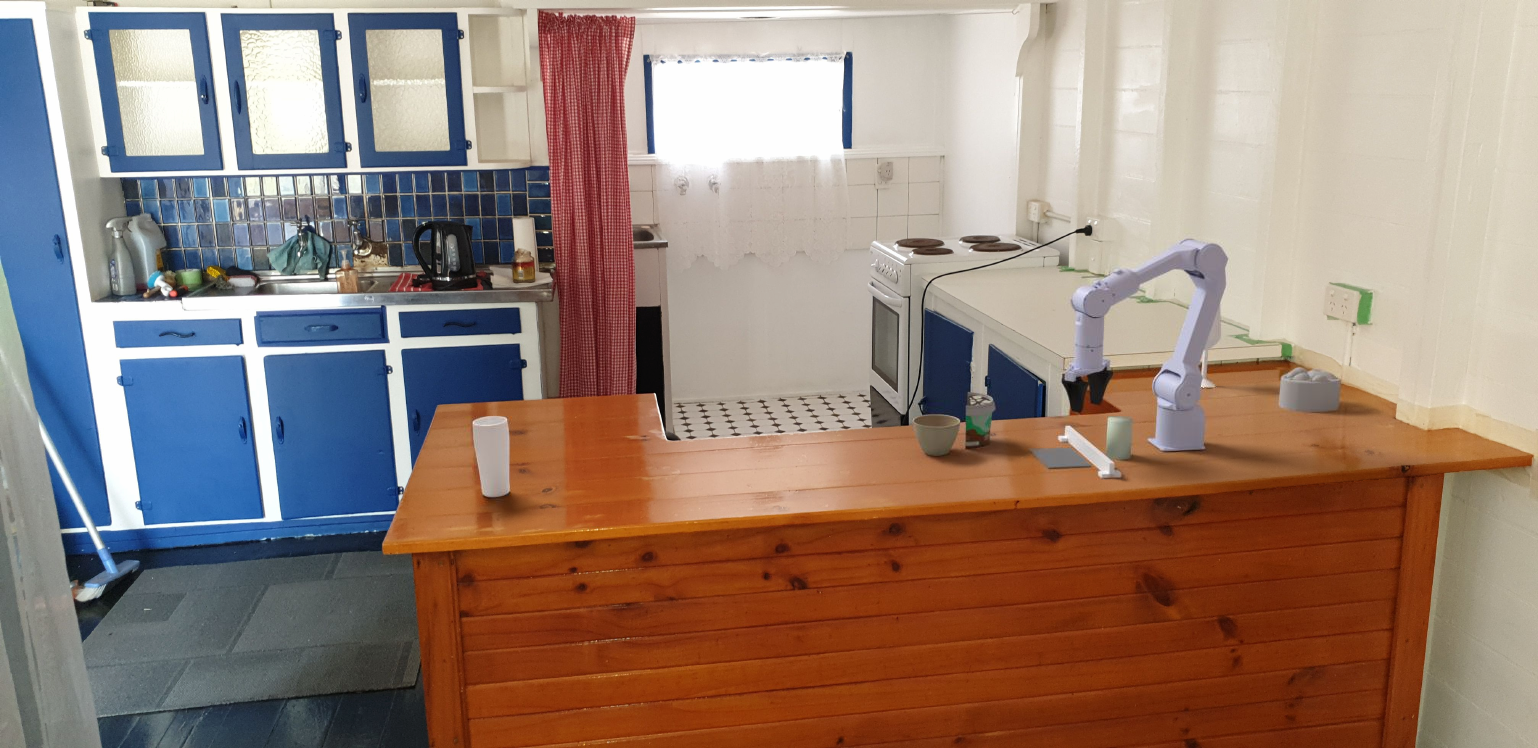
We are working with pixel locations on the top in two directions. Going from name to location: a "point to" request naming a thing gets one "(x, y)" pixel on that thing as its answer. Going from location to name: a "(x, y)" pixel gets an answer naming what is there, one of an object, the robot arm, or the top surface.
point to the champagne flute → (1211, 341)
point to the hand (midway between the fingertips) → (1086, 407)
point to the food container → (978, 420)
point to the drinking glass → (492, 454)
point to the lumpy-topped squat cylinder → (1309, 391)
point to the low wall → (1090, 453)
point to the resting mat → (1060, 458)
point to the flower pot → (936, 433)
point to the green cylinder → (1119, 437)
